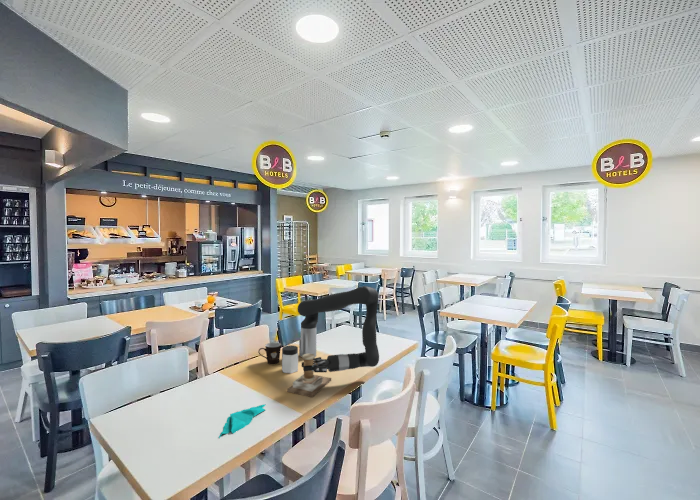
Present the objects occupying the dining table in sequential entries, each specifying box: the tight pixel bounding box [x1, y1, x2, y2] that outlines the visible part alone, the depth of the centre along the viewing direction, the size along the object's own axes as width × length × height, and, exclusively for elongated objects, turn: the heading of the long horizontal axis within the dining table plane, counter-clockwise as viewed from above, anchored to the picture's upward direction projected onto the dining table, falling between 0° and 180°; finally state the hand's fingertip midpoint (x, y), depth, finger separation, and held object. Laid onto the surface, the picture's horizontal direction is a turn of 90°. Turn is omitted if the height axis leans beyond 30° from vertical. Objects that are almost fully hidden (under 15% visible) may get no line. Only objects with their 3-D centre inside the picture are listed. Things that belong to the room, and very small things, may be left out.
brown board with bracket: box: [286, 373, 332, 398], centre depth 160 cm, size 13×19×4 cm
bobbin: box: [301, 353, 316, 381], centre depth 158 cm, size 6×6×11 cm
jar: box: [281, 344, 299, 374], centre depth 178 cm, size 9×8×12 cm
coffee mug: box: [258, 342, 282, 365], centre depth 189 cm, size 12×9×10 cm
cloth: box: [218, 404, 267, 439], centre depth 130 cm, size 26×14×2 cm, turn 145°
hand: (302, 366), depth 157 cm, fingers closed on bobbin, 4 cm apart
